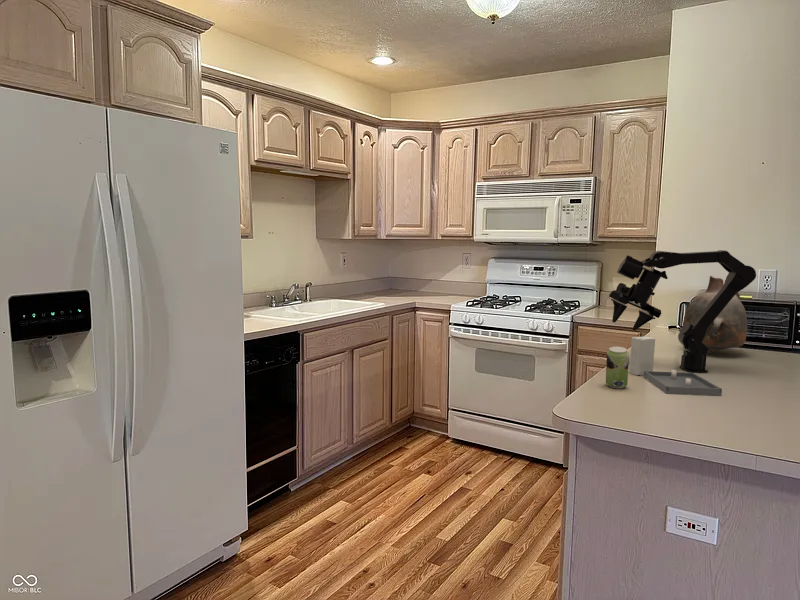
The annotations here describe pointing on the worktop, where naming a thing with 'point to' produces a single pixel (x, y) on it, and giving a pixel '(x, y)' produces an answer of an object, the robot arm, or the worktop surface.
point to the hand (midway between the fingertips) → (623, 326)
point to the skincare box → (641, 355)
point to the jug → (720, 319)
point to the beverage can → (617, 367)
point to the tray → (682, 383)
